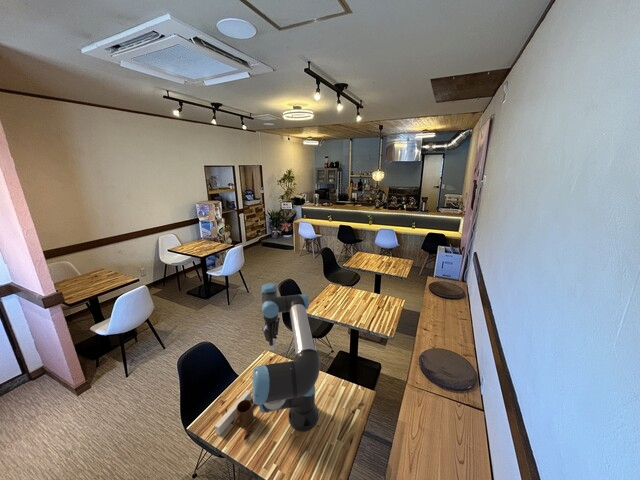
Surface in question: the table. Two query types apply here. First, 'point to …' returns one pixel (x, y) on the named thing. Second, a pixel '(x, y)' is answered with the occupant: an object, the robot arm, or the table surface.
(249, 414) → the mug
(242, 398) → the board
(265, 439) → the table surface
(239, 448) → the table surface
